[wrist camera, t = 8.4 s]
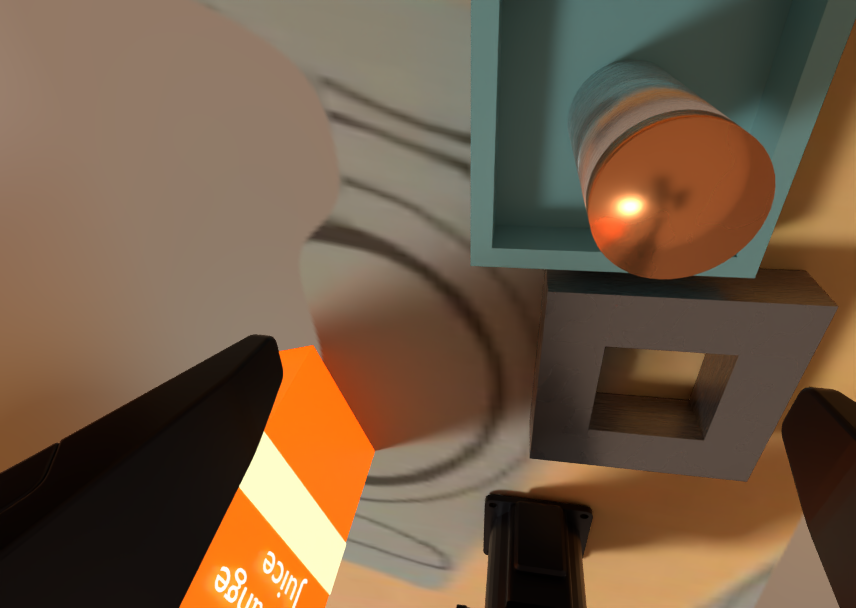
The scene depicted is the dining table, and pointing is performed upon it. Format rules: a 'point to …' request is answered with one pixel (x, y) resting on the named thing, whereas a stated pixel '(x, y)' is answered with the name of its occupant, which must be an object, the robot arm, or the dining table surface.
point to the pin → (665, 173)
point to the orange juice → (290, 500)
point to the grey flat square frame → (672, 331)
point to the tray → (616, 41)
